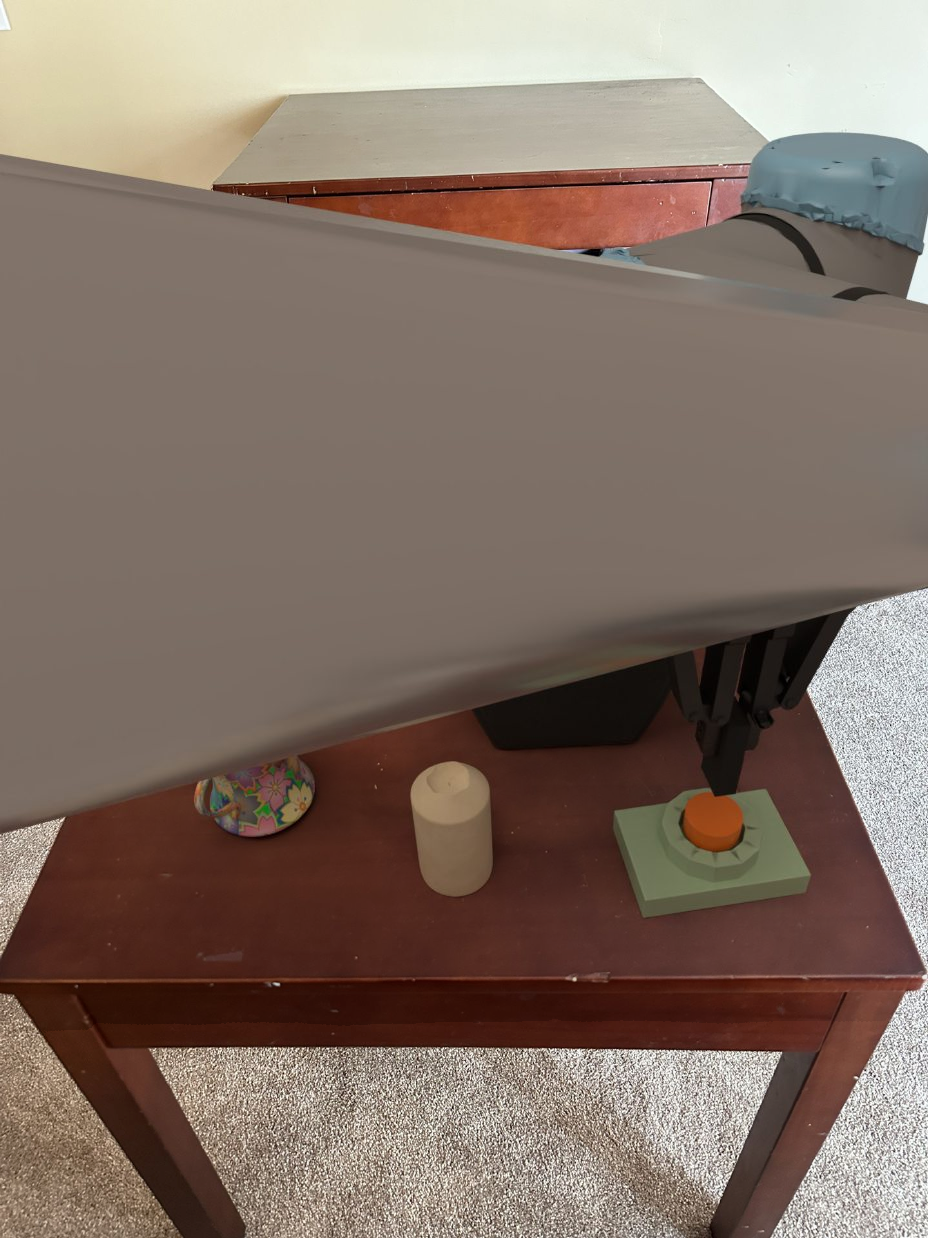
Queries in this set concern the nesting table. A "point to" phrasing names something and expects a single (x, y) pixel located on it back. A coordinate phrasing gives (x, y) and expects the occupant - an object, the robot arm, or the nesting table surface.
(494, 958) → the nesting table surface
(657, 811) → the control block
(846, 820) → the nesting table surface
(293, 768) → the mug
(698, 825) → the button
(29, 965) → the nesting table surface
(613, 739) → the flower pot
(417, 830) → the candle
